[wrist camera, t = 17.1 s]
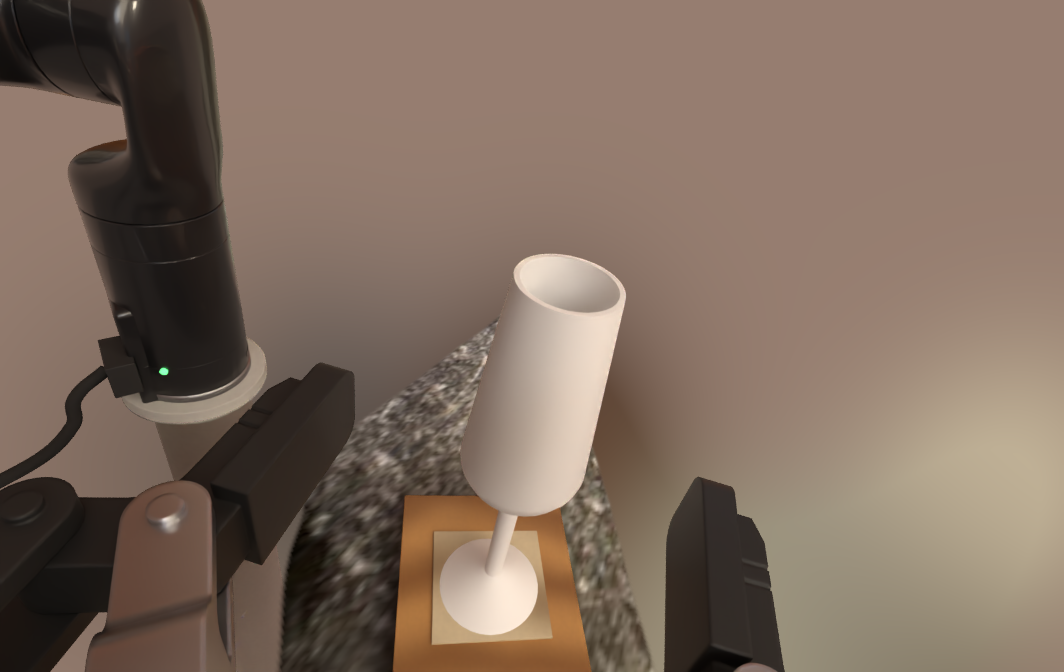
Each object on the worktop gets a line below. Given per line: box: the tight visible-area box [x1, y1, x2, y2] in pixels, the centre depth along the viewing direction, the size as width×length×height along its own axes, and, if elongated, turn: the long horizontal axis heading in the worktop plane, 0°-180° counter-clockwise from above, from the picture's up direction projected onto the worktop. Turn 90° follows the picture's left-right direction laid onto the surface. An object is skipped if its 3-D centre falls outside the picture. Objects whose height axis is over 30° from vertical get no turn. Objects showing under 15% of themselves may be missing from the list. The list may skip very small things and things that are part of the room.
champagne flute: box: [440, 254, 626, 635], centre depth 29 cm, size 7×7×24 cm
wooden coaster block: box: [393, 495, 591, 672], centre depth 38 cm, size 14×12×4 cm
